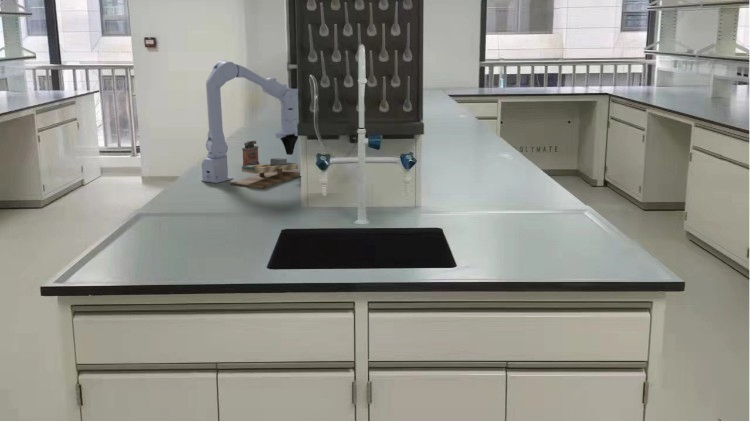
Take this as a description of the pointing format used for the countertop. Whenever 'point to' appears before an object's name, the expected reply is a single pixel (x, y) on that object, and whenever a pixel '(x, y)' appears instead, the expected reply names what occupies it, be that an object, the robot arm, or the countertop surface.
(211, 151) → the robot arm
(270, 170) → the beam
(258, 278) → the countertop surface
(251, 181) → the stand
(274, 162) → the grey block
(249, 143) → the red tin
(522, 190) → the countertop surface
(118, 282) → the countertop surface
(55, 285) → the countertop surface
